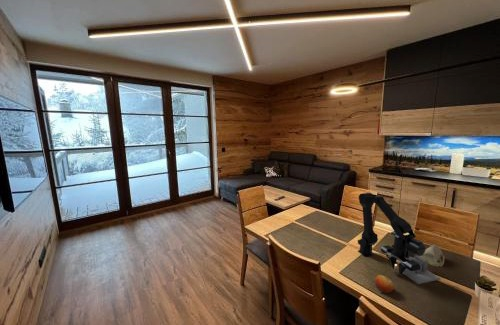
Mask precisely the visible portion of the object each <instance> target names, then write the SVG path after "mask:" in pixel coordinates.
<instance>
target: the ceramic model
mask: <svg viewBox="0 0 500 325" xmlns="http://www.w3.org/2000/svg"><path fill="white" fill-rule="evenodd" d="M420 257H422V258H423V259H425V260H427V261H428V264H427V265H430V266H433V267H438V268H440V267H443V265H444V264H445V255H444V254H443V251H442V249H441V248H440V247H439V246H438V245H437V244H432V245H430V246H429V247H428V248H426V250H425V253H424V254H423V255H422V256H420ZM439 266H440V267H439Z"/></svg>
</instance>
